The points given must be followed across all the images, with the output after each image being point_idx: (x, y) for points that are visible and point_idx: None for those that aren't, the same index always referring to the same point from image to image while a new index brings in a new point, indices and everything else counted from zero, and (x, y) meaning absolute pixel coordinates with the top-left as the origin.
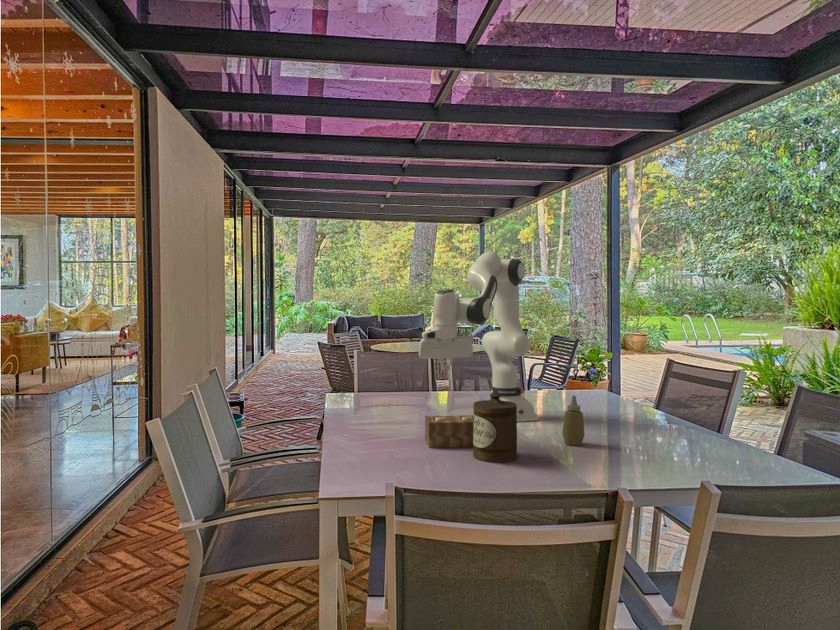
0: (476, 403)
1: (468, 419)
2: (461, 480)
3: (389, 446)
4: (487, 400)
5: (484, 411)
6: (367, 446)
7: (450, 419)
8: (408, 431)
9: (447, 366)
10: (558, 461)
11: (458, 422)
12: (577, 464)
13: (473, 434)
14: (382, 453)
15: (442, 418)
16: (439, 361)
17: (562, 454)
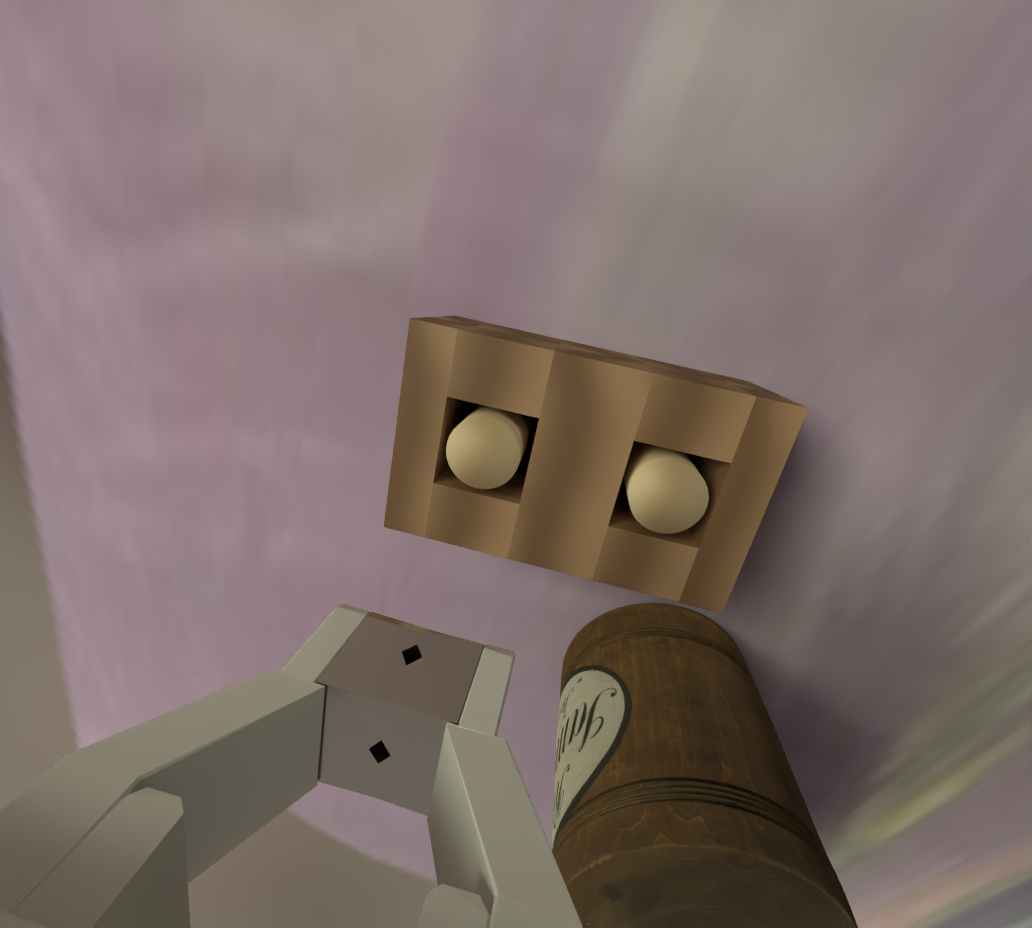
0: (575, 906)
1: (657, 530)
2: (426, 822)
3: (259, 396)
4: (722, 859)
5: None
6: (163, 365)
7: (544, 482)
8: (408, 62)
9: (412, 781)
10: (852, 806)
11: (560, 571)
12: (891, 852)
13: (560, 727)
14: (224, 494)
15: (489, 471)
16: (115, 768)
17: (952, 751)
